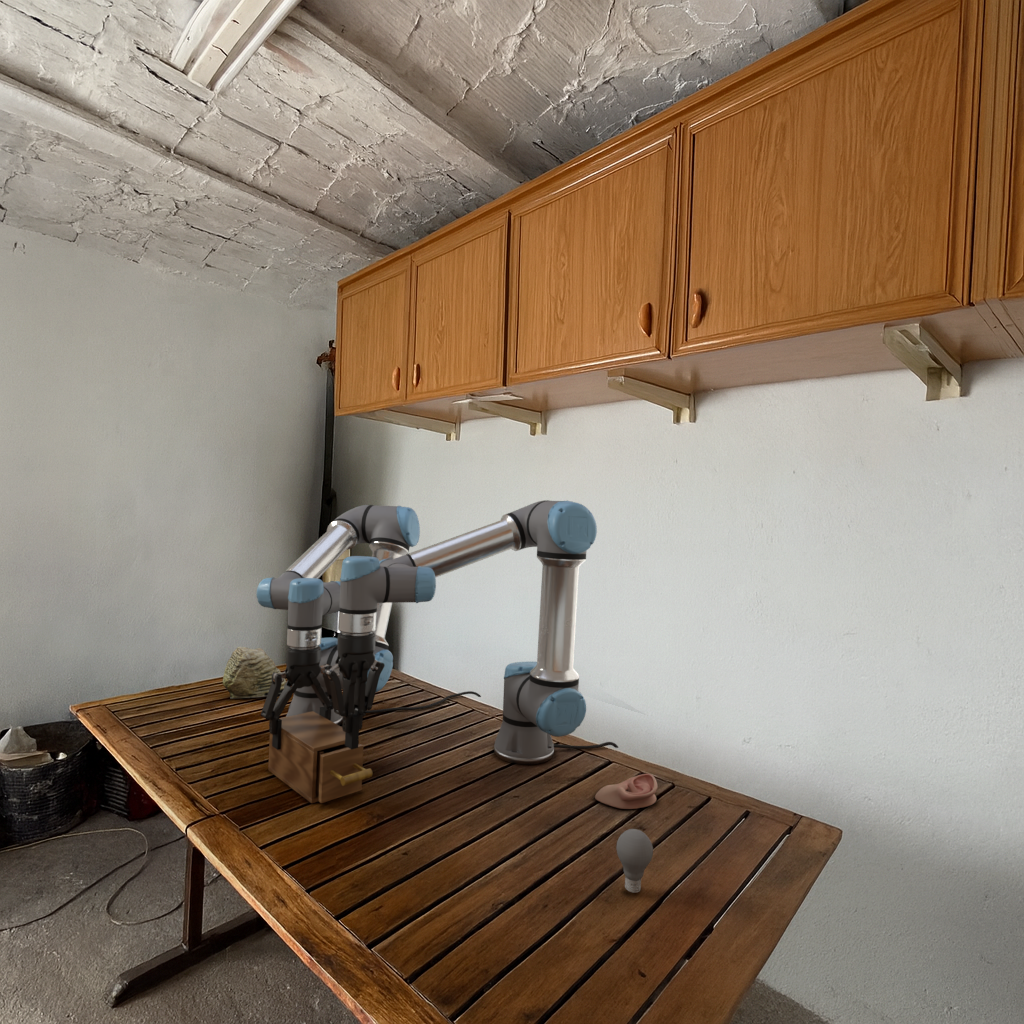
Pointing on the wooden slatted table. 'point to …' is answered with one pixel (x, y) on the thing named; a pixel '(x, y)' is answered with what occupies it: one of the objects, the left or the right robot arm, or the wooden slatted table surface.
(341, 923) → the wooden slatted table surface
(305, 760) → the cabinet
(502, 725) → the right robot arm
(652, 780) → the anatomical model
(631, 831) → the light bulb
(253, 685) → the fossil
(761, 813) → the wooden slatted table surface
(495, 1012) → the wooden slatted table surface
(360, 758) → the drawer
